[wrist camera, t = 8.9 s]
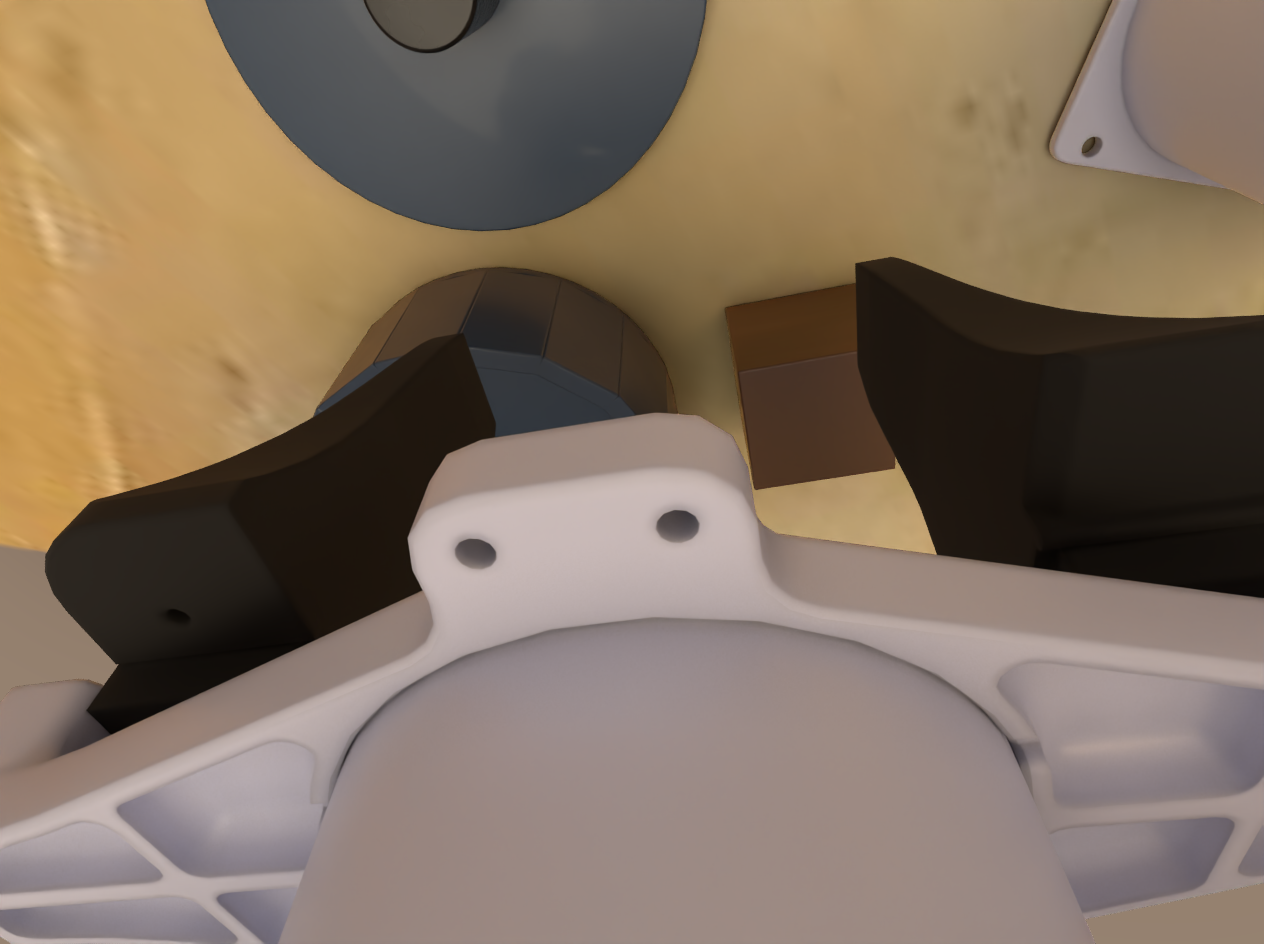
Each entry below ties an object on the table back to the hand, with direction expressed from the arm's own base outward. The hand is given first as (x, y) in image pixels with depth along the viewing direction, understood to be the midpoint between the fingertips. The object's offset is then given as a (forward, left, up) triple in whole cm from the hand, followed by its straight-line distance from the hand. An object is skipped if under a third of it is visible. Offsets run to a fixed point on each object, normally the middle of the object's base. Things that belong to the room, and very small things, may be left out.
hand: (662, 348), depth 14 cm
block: (-5, +5, -10) cm, 12 cm away
